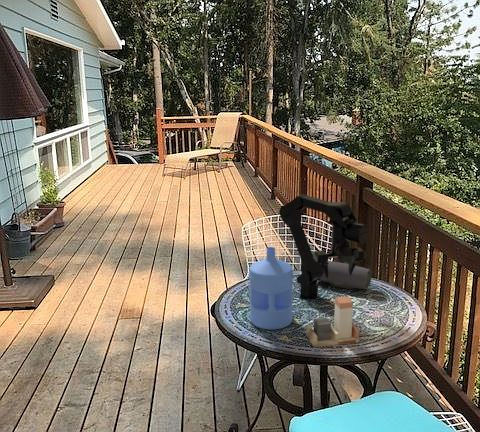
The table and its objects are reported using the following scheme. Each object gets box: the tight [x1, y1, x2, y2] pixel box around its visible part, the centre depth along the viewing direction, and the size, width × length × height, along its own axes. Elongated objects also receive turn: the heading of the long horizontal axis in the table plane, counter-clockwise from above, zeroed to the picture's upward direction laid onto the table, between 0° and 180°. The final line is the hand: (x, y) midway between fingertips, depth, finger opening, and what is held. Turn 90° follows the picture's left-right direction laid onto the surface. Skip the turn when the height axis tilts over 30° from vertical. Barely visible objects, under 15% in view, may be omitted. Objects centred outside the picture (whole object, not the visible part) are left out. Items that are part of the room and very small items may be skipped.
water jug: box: [248, 246, 294, 331], centre depth 177 cm, size 16×16×28 cm
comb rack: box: [306, 316, 360, 348], centre depth 166 cm, size 8×16×7 cm, turn 101°
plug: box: [333, 296, 354, 339], centre depth 166 cm, size 4×4×13 cm
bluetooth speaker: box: [319, 260, 372, 290], centre depth 207 cm, size 23×9×10 cm, turn 58°
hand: (338, 276), depth 185 cm, fingers open, 9 cm apart
